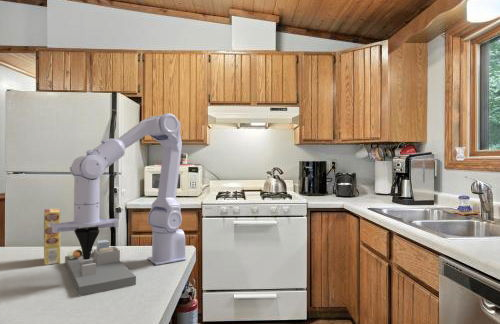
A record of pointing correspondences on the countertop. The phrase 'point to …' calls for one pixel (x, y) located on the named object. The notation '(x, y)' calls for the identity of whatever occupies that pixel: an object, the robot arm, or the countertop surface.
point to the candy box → (51, 237)
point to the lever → (79, 256)
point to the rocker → (72, 253)
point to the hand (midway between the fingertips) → (86, 258)
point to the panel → (99, 272)
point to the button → (106, 250)
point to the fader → (102, 244)
